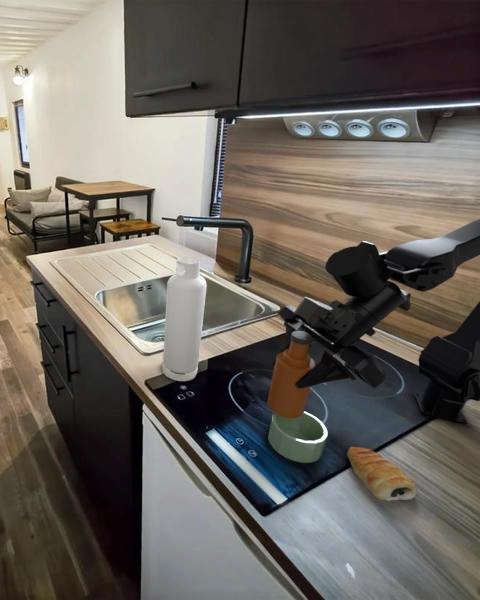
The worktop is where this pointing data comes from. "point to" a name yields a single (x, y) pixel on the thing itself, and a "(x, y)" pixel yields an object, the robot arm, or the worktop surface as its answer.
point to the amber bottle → (291, 377)
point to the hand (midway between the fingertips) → (284, 375)
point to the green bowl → (298, 437)
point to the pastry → (381, 475)
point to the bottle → (184, 320)
